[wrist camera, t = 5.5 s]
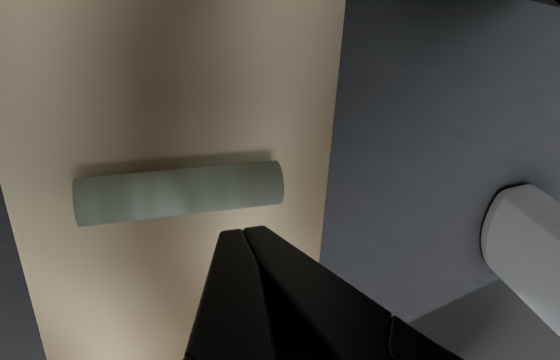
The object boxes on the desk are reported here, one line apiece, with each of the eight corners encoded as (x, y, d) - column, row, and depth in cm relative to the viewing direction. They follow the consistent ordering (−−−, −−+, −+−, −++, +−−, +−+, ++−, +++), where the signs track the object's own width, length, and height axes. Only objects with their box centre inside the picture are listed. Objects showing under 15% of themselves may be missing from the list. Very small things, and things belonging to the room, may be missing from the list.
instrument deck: (355, -346, 12) (417, -409, 9) (298, 327, 22) (320, 379, 20) (-141, -445, 9) (-234, -569, 7) (62, 371, 20) (54, 437, 17)
